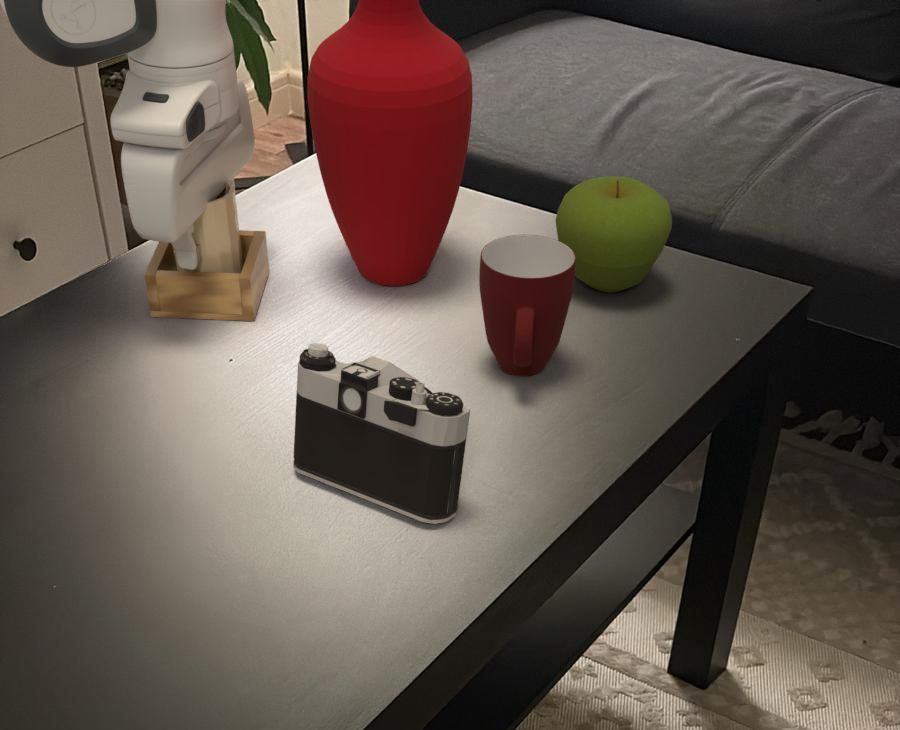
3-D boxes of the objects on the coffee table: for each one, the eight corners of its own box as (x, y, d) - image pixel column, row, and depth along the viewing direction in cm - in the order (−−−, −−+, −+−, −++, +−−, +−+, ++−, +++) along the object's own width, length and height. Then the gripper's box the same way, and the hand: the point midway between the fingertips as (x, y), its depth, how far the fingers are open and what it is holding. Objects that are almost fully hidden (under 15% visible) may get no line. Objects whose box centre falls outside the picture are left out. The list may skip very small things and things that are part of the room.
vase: (350, 228, 132) (335, -120, 110) (487, 251, 130) (500, -102, 107) (295, 293, 123) (266, -74, 101) (441, 319, 120) (444, -53, 98)
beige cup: (173, 300, 120) (158, 202, 113) (185, 269, 124) (171, 173, 118) (238, 302, 120) (227, 205, 113) (249, 271, 124) (239, 175, 117)
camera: (500, 487, 104) (519, 366, 98) (430, 532, 97) (445, 405, 91) (353, 432, 109) (361, 314, 103) (275, 471, 102) (279, 346, 96)
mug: (575, 403, 111) (586, 292, 103) (483, 405, 110) (487, 294, 103) (560, 341, 118) (569, 233, 110) (472, 343, 117) (476, 234, 110)
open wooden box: (151, 317, 120) (143, 274, 117) (171, 268, 126) (165, 227, 123) (254, 321, 119) (249, 278, 116) (269, 272, 126) (265, 231, 123)
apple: (533, 293, 124) (540, 188, 116) (580, 250, 130) (589, 148, 123) (635, 322, 120) (649, 215, 113) (679, 277, 127) (695, 173, 119)
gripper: (197, 42, 116) (216, 197, 127) (99, 127, 103) (129, 292, 113) (263, 49, 115) (276, 205, 126) (172, 136, 102) (196, 302, 112)
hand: (206, 247), depth 119 cm, fingers closed on beige cup, 6 cm apart
